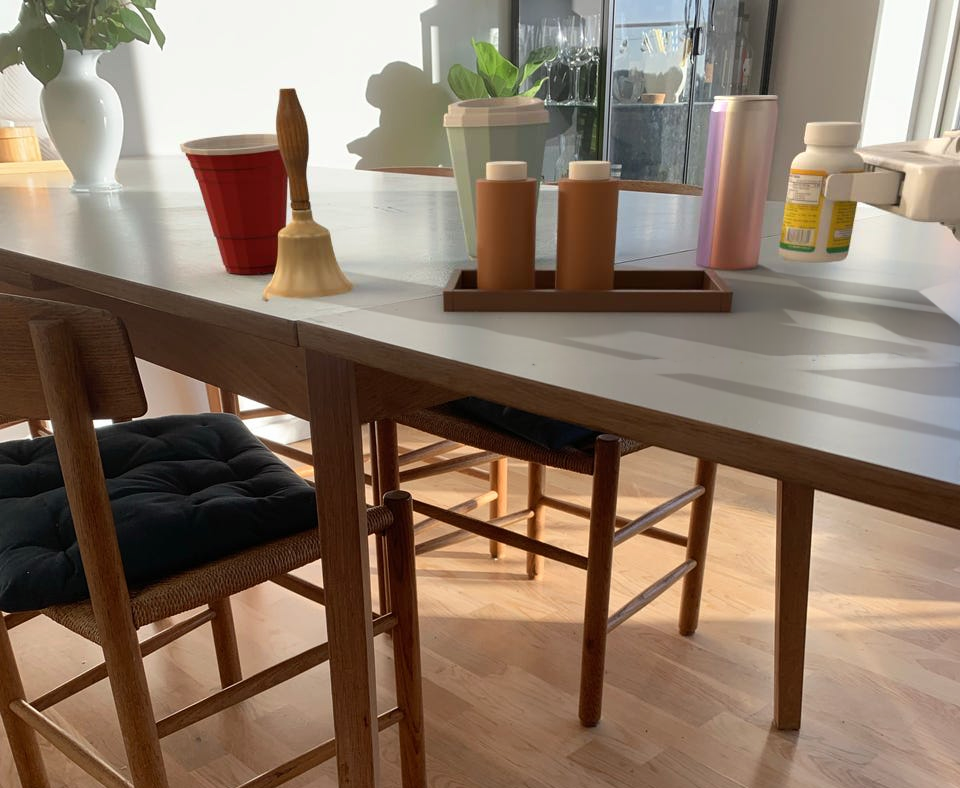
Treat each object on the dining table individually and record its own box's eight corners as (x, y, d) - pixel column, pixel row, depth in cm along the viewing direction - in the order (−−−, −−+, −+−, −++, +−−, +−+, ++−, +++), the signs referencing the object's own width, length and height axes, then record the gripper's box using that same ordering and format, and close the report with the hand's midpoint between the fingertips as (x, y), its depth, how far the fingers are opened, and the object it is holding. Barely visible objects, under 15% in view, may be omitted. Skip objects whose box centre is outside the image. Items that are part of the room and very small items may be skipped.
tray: (709, 294, 83) (712, 268, 82) (730, 320, 74) (733, 292, 73) (454, 293, 84) (453, 268, 83) (443, 318, 75) (442, 291, 74)
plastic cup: (176, 276, 93) (154, 139, 87) (235, 259, 102) (218, 133, 96) (273, 282, 90) (257, 140, 84) (325, 264, 99) (314, 134, 93)
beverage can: (682, 271, 93) (699, 96, 86) (716, 264, 97) (735, 95, 89) (735, 278, 89) (757, 96, 82) (768, 270, 93) (792, 95, 85)
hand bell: (308, 308, 79) (287, 88, 71) (243, 297, 83) (216, 88, 75) (376, 293, 85) (363, 87, 77) (311, 283, 89) (293, 88, 81)
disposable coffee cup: (541, 270, 94) (545, 97, 87) (436, 268, 96) (431, 98, 88) (551, 253, 103) (555, 96, 96) (455, 252, 105) (451, 97, 97)
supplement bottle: (782, 263, 74) (801, 124, 69) (774, 252, 79) (791, 121, 74) (854, 264, 73) (878, 123, 69) (841, 253, 78) (863, 120, 73)
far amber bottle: (531, 292, 82) (533, 160, 76) (537, 303, 77) (540, 164, 72) (475, 293, 81) (474, 160, 76) (479, 304, 77) (478, 165, 72)
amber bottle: (606, 292, 81) (614, 159, 76) (617, 303, 77) (626, 164, 72) (551, 293, 81) (555, 160, 76) (559, 304, 77) (563, 164, 72)
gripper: (1046, 244, 65) (843, 245, 66) (938, 211, 83) (778, 212, 84) (1074, 141, 62) (860, 144, 63) (955, 129, 80) (789, 131, 80)
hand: (812, 182), depth 73 cm, fingers closed on supplement bottle, 5 cm apart
